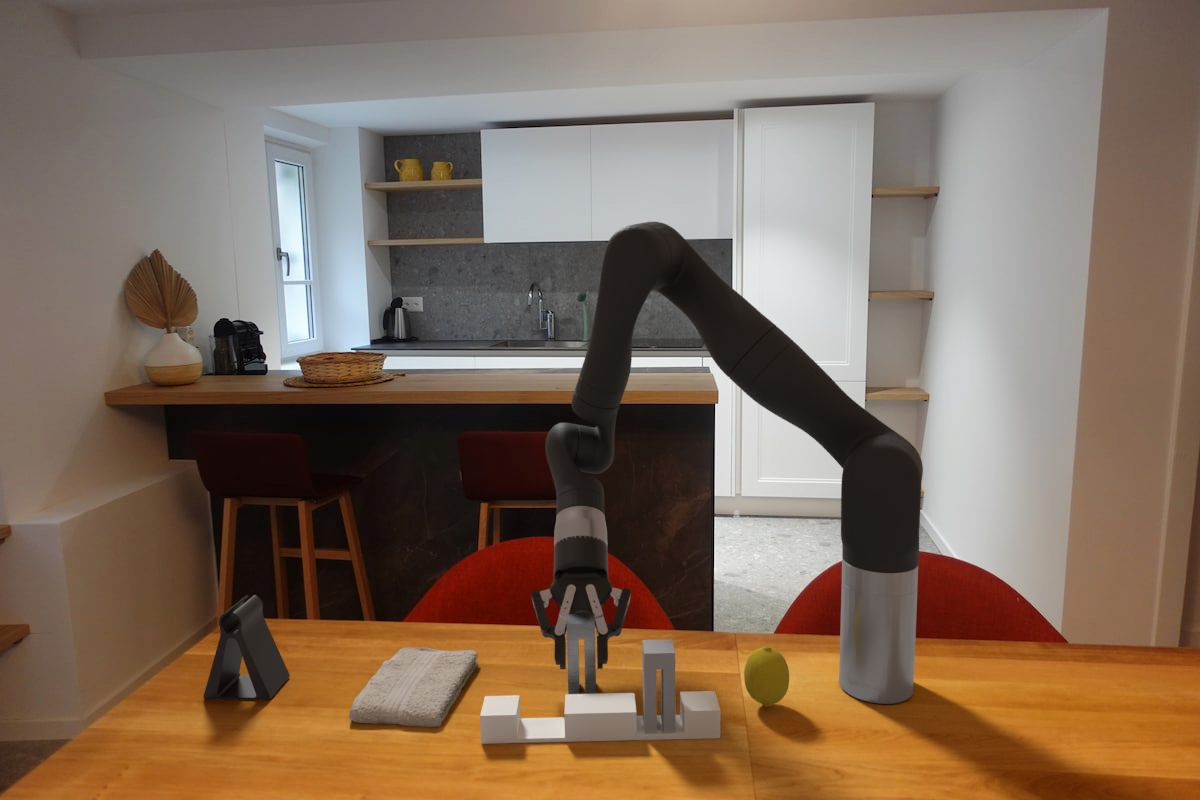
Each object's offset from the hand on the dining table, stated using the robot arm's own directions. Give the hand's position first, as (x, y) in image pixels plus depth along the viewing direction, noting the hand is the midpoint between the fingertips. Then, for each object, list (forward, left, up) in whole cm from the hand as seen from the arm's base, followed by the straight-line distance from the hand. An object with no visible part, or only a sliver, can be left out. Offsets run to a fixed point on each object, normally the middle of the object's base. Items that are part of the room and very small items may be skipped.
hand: (581, 666), depth 104 cm
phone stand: (+26, -37, -5) cm, 45 cm away
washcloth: (+12, -18, -5) cm, 22 cm away
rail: (+5, +7, -4) cm, 9 cm away
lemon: (-12, +20, -4) cm, 24 cm away
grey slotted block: (-1, -1, -4) cm, 5 cm away
